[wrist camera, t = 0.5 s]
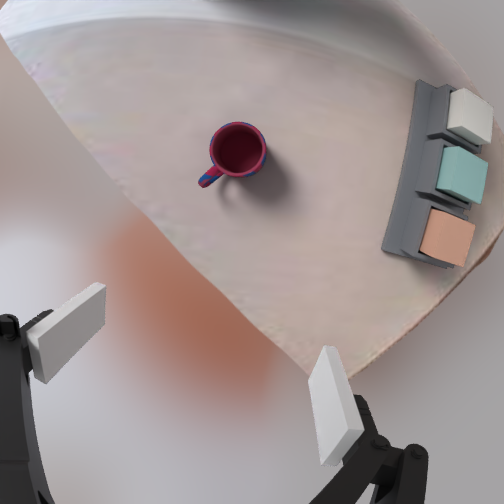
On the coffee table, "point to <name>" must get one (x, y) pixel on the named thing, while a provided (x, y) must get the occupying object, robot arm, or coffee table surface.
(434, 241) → the terracotta key
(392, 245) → the console
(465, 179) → the teal key
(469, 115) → the ivory key
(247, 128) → the mug
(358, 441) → the robot arm
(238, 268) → the coffee table surface
